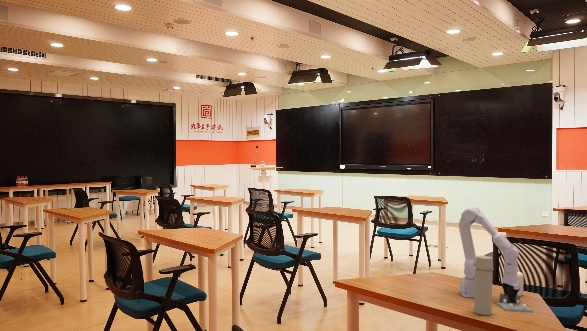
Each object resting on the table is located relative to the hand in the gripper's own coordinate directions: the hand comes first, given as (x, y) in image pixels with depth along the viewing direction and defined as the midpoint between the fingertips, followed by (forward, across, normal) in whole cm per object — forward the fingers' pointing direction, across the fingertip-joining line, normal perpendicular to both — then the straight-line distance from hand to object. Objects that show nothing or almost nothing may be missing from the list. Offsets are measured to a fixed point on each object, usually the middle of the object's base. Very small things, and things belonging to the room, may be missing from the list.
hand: (509, 300), depth 211 cm
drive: (+1, 0, 0) cm, 1 cm away
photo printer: (+2, +14, -8) cm, 16 cm away
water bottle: (+2, -16, +18) cm, 24 cm away
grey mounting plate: (+1, -8, +1) cm, 8 cm away
